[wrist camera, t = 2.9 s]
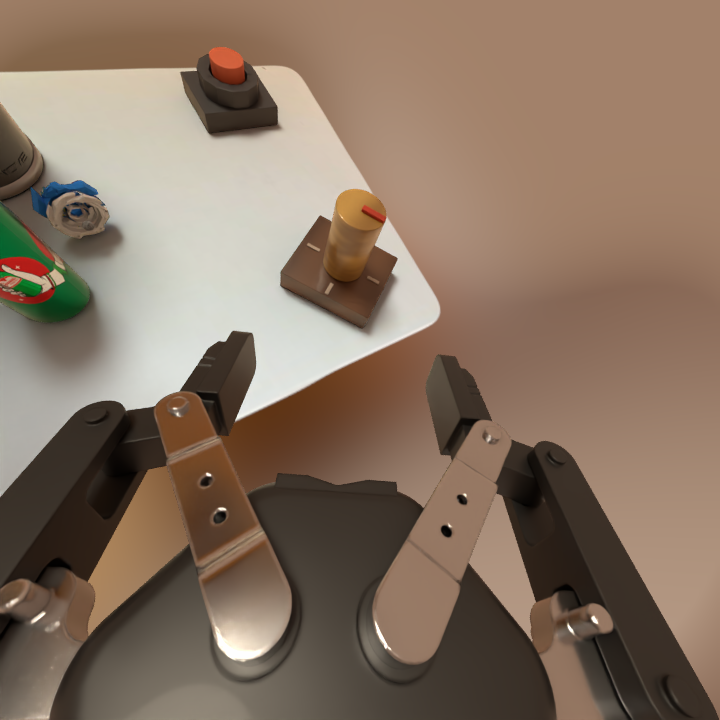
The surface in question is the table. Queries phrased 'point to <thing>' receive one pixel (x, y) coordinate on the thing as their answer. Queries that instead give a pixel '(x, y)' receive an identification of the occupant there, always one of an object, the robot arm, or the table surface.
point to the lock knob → (353, 234)
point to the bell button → (227, 65)
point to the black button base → (229, 99)
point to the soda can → (36, 275)
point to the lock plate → (324, 290)
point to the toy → (71, 208)
